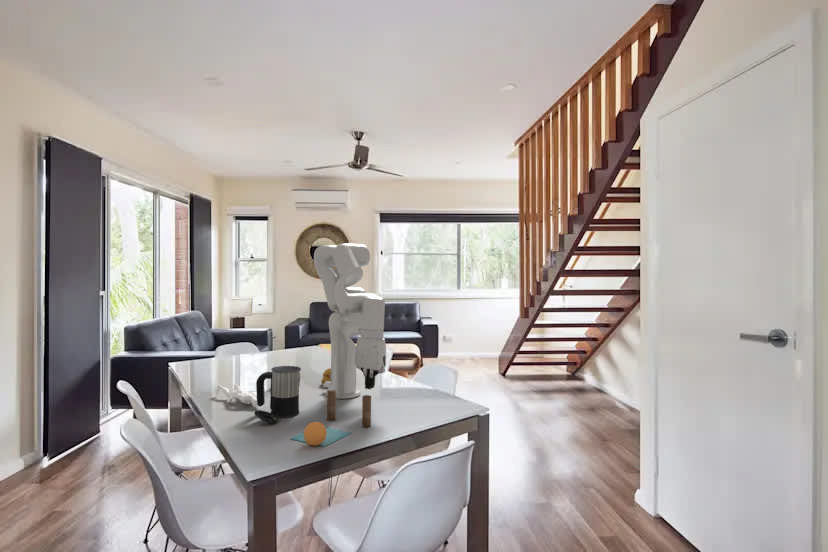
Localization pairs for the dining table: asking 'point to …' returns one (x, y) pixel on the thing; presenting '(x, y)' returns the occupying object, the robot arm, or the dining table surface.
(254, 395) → the white crumpled cloth
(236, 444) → the dining table surface
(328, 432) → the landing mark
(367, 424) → the post
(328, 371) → the bread roll
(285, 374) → the milk frother
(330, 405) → the post
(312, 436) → the ball
